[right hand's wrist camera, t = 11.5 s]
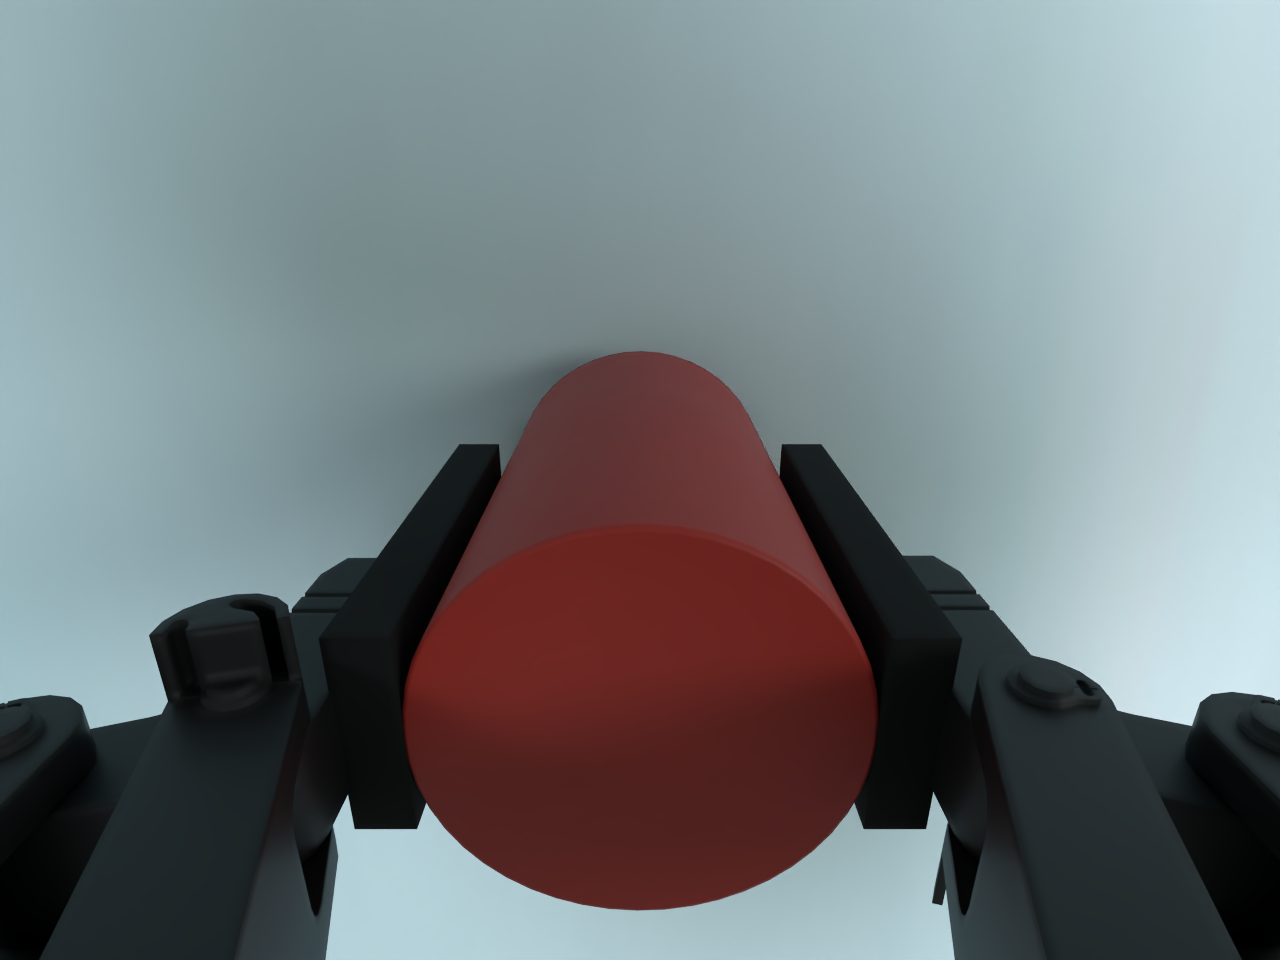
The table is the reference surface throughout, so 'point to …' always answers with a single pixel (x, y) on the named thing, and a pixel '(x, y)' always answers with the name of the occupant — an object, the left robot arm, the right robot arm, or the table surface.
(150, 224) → the table surface
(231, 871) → the right robot arm
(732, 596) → the canister
